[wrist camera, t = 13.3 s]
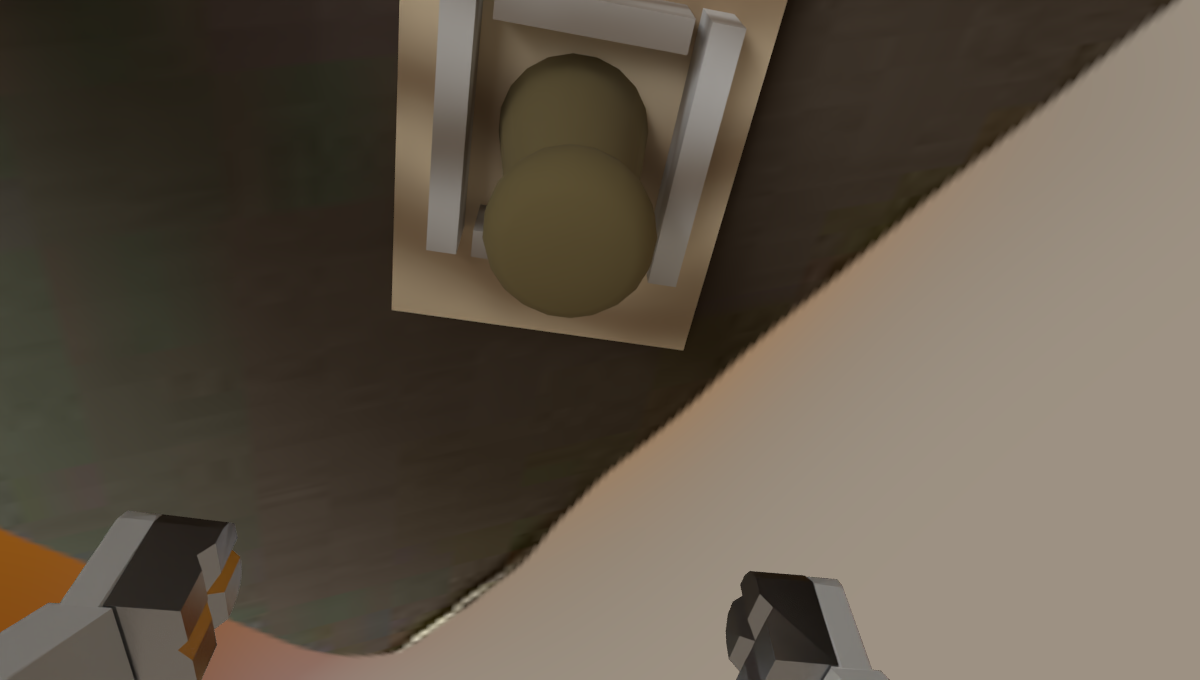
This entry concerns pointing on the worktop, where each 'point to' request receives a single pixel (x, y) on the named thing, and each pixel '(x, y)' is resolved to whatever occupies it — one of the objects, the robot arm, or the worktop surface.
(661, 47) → the collar board
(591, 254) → the cork
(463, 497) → the worktop surface
